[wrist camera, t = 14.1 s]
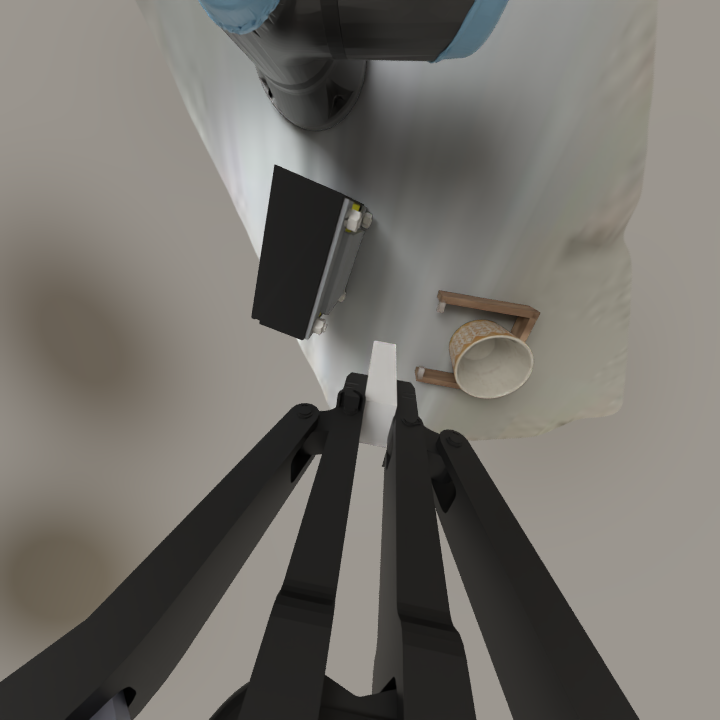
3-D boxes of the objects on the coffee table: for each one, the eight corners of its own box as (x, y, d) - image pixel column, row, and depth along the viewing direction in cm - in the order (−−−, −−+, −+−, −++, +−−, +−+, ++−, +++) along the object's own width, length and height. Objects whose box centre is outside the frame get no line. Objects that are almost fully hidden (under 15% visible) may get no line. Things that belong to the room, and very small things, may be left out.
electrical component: (343, 303, 52) (318, 346, 34) (296, 284, 51) (245, 318, 34) (376, 210, 43) (364, 203, 26) (319, 185, 42) (268, 161, 25)
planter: (452, 310, 50) (465, 331, 41) (518, 317, 49) (547, 339, 40) (438, 366, 56) (446, 394, 47) (497, 372, 55) (517, 402, 46)
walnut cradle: (439, 290, 48) (442, 295, 45) (529, 306, 48) (540, 312, 44) (414, 371, 57) (416, 380, 54) (490, 385, 57) (497, 395, 53)
